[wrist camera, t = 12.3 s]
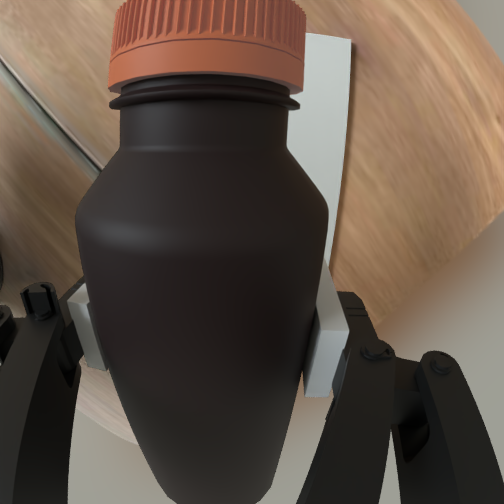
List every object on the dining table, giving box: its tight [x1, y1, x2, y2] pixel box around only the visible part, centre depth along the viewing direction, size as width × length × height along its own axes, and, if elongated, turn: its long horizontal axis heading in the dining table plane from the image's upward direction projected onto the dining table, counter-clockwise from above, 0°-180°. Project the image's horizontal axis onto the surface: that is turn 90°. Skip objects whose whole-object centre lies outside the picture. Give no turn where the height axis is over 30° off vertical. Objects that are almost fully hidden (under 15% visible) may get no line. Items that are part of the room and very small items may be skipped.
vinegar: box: [75, 0, 329, 504], centre depth 10 cm, size 7×7×20 cm
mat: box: [287, 33, 351, 266], centre depth 24 cm, size 15×26×1 cm, turn 177°
